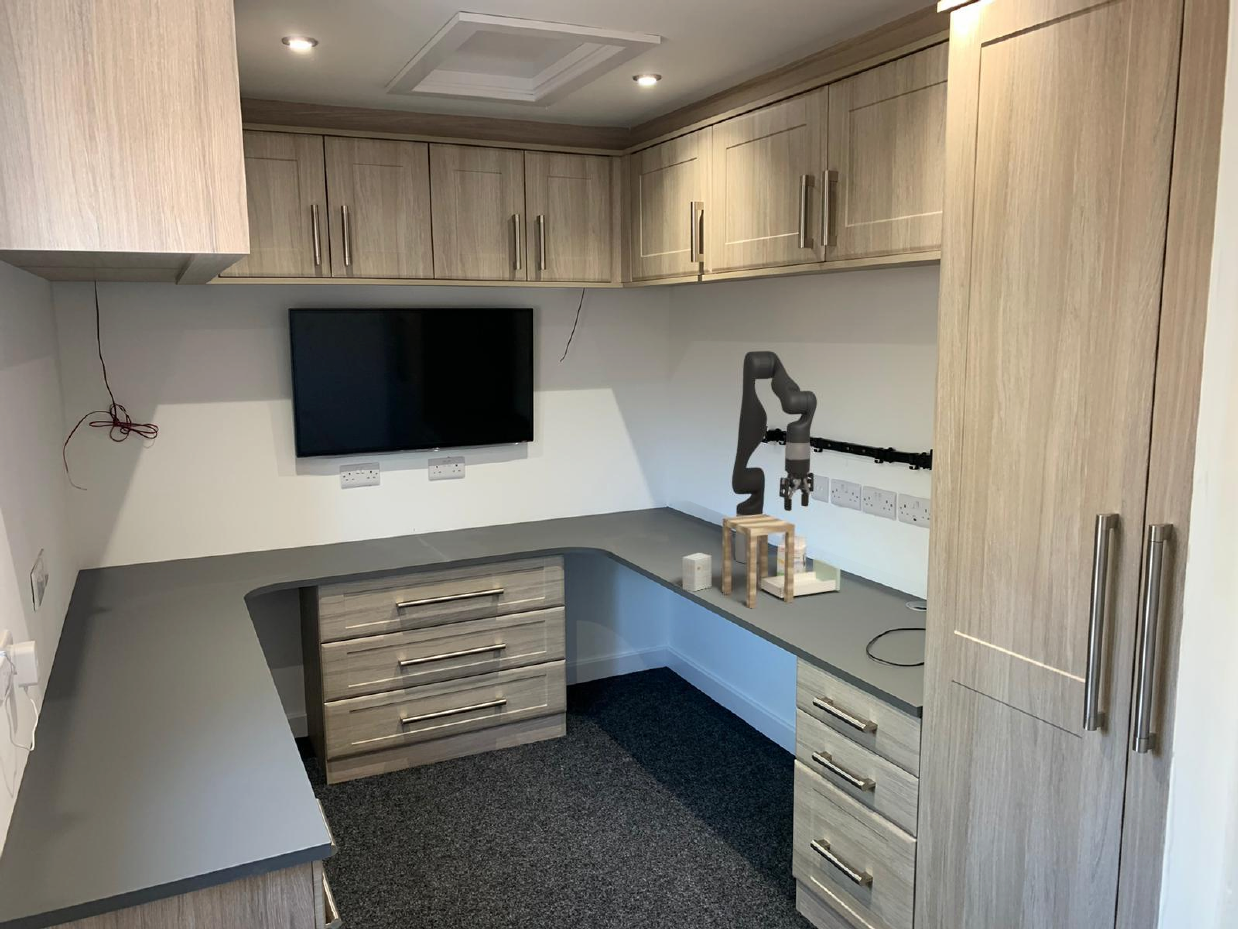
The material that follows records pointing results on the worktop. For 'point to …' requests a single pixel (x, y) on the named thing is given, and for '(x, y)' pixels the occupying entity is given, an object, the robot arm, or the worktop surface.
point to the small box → (696, 572)
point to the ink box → (798, 556)
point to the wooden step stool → (753, 528)
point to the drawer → (807, 580)
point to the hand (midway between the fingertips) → (796, 508)
